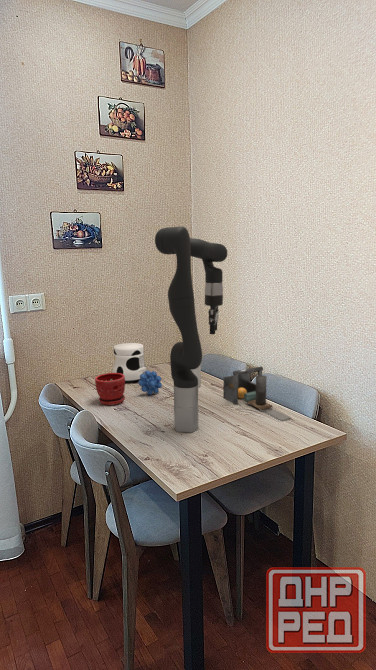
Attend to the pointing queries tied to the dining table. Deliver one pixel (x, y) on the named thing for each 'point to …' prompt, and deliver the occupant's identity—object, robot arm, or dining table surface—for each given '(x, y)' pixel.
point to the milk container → (129, 361)
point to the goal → (239, 383)
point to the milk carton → (197, 374)
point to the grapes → (150, 382)
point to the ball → (241, 392)
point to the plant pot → (110, 388)
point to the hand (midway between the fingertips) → (213, 332)
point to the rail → (275, 414)
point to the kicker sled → (258, 394)
